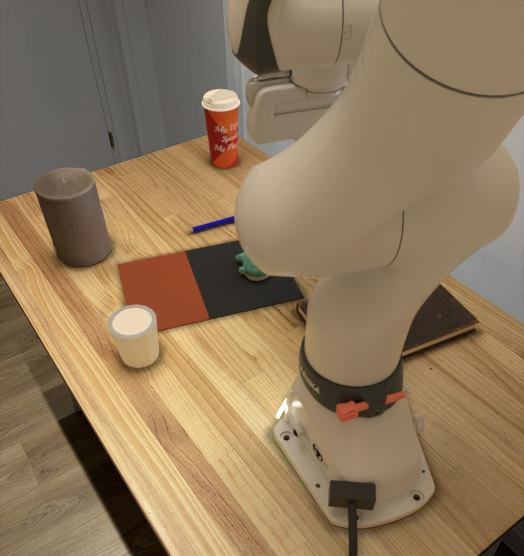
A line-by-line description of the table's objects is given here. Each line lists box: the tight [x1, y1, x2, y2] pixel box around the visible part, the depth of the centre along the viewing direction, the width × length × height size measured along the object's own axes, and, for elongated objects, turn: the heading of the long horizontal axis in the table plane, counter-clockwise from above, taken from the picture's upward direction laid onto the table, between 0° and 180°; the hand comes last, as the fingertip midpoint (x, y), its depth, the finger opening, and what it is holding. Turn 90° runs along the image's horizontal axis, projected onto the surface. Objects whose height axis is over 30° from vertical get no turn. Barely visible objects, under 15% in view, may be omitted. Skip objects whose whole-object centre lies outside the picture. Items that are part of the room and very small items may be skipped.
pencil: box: [187, 215, 235, 233], centre depth 104 cm, size 17×1×1 cm, turn 116°
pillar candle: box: [33, 167, 112, 268], centre depth 94 cm, size 10×10×15 cm
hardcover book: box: [295, 283, 480, 361], centre depth 86 cm, size 16×23×2 cm
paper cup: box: [201, 88, 241, 169], centre depth 114 cm, size 8×8×14 cm
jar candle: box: [107, 305, 160, 369], centre depth 80 cm, size 7×7×7 cm
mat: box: [117, 239, 305, 332], centre depth 94 cm, size 18×28×1 cm, turn 108°
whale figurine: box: [235, 252, 269, 281], centre depth 94 cm, size 6×7×4 cm
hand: (314, 159), depth 83 cm, fingers closed
